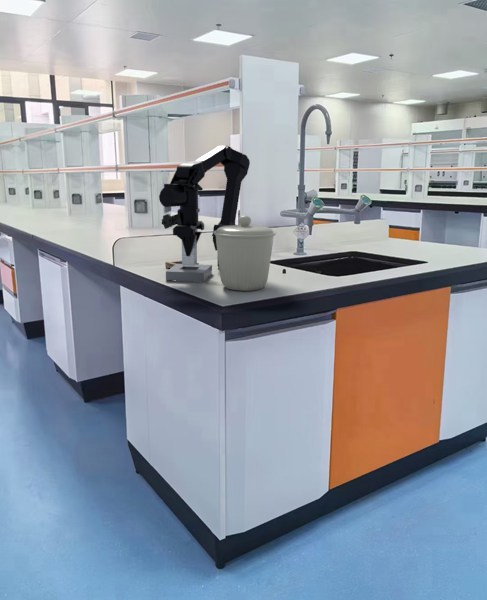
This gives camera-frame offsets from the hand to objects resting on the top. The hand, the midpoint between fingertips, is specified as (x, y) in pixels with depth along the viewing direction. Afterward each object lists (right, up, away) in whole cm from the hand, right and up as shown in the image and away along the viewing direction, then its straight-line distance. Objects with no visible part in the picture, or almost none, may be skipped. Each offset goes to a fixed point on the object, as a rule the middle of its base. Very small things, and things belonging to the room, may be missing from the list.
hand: (189, 255), depth 168 cm
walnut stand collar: (-4, -3, +17) cm, 18 cm away
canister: (+17, -11, -12) cm, 24 cm away
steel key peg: (0, -3, +1) cm, 3 cm away
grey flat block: (0, -7, +2) cm, 7 cm away
